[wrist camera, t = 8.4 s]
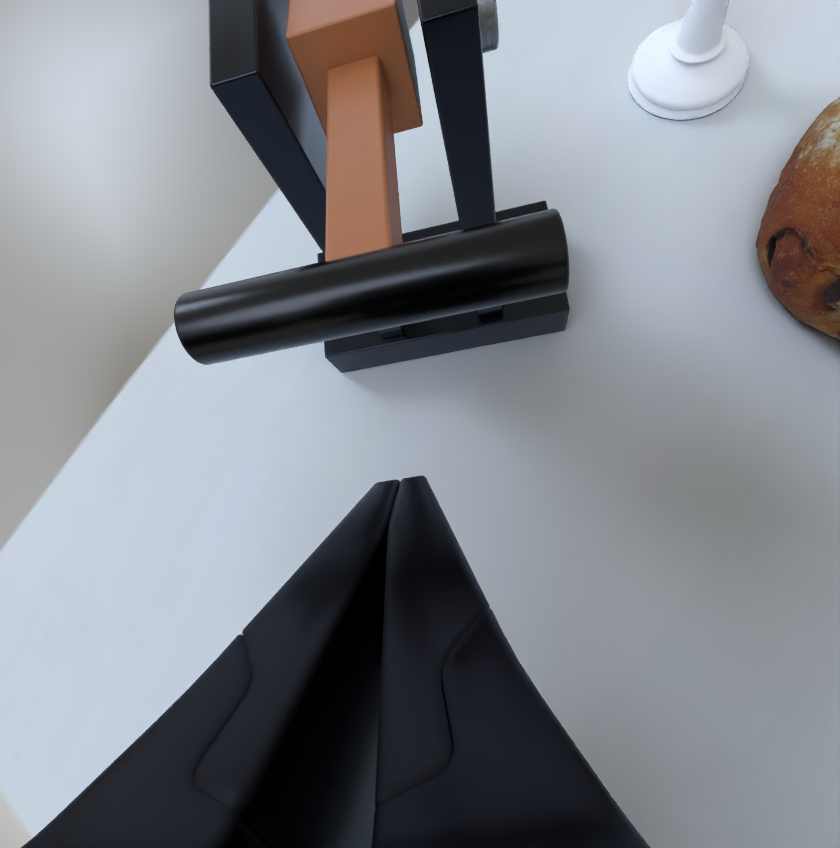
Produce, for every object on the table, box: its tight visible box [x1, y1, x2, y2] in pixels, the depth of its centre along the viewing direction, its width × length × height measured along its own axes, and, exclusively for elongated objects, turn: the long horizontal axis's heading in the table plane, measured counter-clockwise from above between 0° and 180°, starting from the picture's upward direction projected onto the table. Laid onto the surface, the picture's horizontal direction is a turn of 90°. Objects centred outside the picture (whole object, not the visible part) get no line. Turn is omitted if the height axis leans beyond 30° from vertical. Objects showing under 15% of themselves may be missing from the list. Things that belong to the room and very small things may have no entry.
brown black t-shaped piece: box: [174, 0, 569, 365], centre depth 10 cm, size 9×6×2 cm, turn 7°
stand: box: [209, 0, 570, 373], centre depth 16 cm, size 5×10×14 cm, turn 97°
